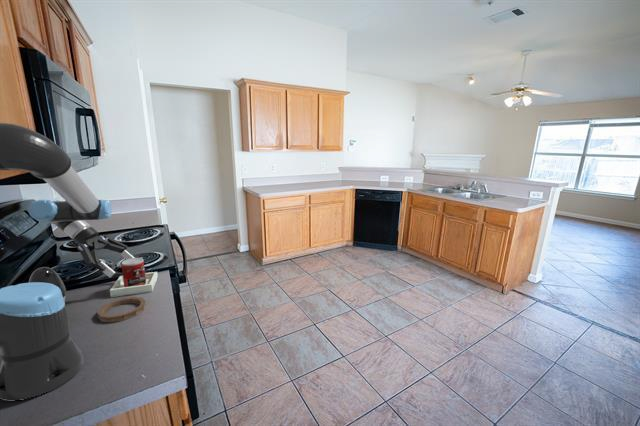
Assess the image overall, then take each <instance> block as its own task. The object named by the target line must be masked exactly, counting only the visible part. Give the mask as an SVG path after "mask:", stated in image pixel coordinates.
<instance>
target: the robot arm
mask: <svg viewBox="0 0 640 426" xmlns="http://www.w3.org/2000/svg"><path fill="white" fill-rule="evenodd" d="M72 165H73V164H72V160H71V157H70V156H69V155H68V153H66V151H65V149H63V148H62V147H61V146H60V145H58V144H57V143H56V142H54V141H53V140H52V139H50V138H48V137H47V136H44V135H43V134H41V133H39V132H37V131H35V130H33V129H31V128H28V127H24V126H22V125H19V124H16V123H15V124H14V123H7V122H0V171H23V172H28V173H30V174H31V175H32V176H34V177H36V178H38V179H41V180H43V181H44V182H45V183H47V184H48V185H49V186H50V187H51V188H52V189H53V190H54V191H55V192H56V193H57V194H58V195H59V196H60V197H61V198H63V200H65V201H63V200H57V199H56V200H49V199H38V200H35V201H34V202H32V203H31V204H30V205H29V206H28V214H29V216H30V217H31V218H32V219H34V220H37V221H38V222H42V223H48V224H53V225H55V226H56V227H57V228H59V229H60V230H61V231H62V232H63V233H65V234H66V235H67V236H69V238H71V239H73V241H74V242H75V243H77V245H78V247H76V249H77V251H78V252H79V253H80V255H81V257H82V258H83V261H84V262H85V265H86V266H87V267H88V268H91V269H95V268H96V269H98V271H100V272H102V273H103V274H105V275H106V276H107V277H108V278H112V277H113V276H114V275H115V274H116V271H114V269H112V268H111V267H110V266H108V265H107V264H106V263H105V262H104V261H100V256H99V251H100V250H109V251H113V252H116V253H120V256H122V257H123V258H124V259H125V260H127V259H131V258H135V256H134V255H132V253H130V252H129V251H128V250H127V249H128V248H129V247H128V245H126V244H124V243H122V242H121V241H118V240H116V239H114V238H112V237H110V236H109V235H107V234H105V235H104V236H102V237H101V236H99V232H98V231H97V230H96V229H95V228H94V227H91V225H90V224H89V223H88V222H86V221H93V220H95V221H100V220H107V219H109V218H111V217H112V211H113V210H112V203H111V202H110V200H108V199H98V198H97V197H96V195H95V193H93V191H92V190H91V189H90V188H89V186H88V185H87V184H86V183H85V182H84V180H83V179H82V178H81V176H80V175H79V173H77V172H76V170H75V169H74V167H72ZM65 300H66V299H65ZM65 300H64V299H63V296H62V292H61V290H60V288H59V287H57V286H55V285H53V284H50V283H43V282H33V283H28V282H23V283H17V284H15V285H8V286H4V287H1V288H0V358H1V363H0V398H2V399H7V400H20V399H26V398H30V399H32V398H31V397H34V398H36V397H35V396H37V397H39V396H41V395H40V394H42V395H44V394H43V393H45V394H47V393H49V392H51V391H53V390H55V389H57V388H59V387H60V386H63V385H64V384H65V383H67V382H69V380H72V379H73V377H75V376H76V375H77V374H78V373H79V372H80V370H81V369H82V367H83V366H84V356H83V352H82V351H81V349H80V348H79V347H78V346H77V344H76V343H75V342H74V340H73V339H72V338H71V335H70V329H69V324H68V316H67V312H66V301H65ZM46 392H47V393H46ZM38 395H39V396H38Z"/></svg>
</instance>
